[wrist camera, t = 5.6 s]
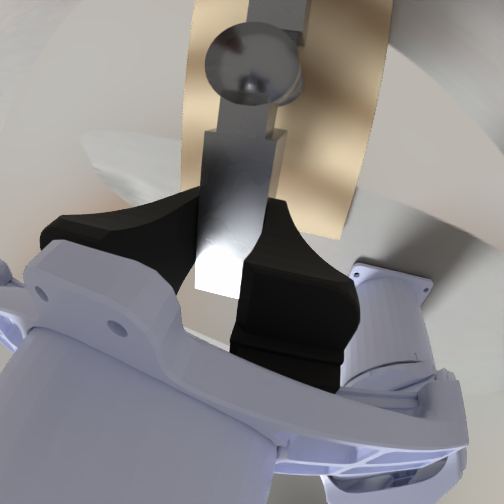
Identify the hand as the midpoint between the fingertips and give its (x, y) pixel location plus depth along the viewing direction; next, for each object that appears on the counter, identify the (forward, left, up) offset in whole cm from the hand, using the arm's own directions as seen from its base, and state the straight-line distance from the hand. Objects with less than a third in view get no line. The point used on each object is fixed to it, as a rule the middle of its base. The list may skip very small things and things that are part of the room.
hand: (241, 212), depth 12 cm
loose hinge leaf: (+2, 0, -3) cm, 4 cm away
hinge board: (+6, 0, -8) cm, 10 cm away
